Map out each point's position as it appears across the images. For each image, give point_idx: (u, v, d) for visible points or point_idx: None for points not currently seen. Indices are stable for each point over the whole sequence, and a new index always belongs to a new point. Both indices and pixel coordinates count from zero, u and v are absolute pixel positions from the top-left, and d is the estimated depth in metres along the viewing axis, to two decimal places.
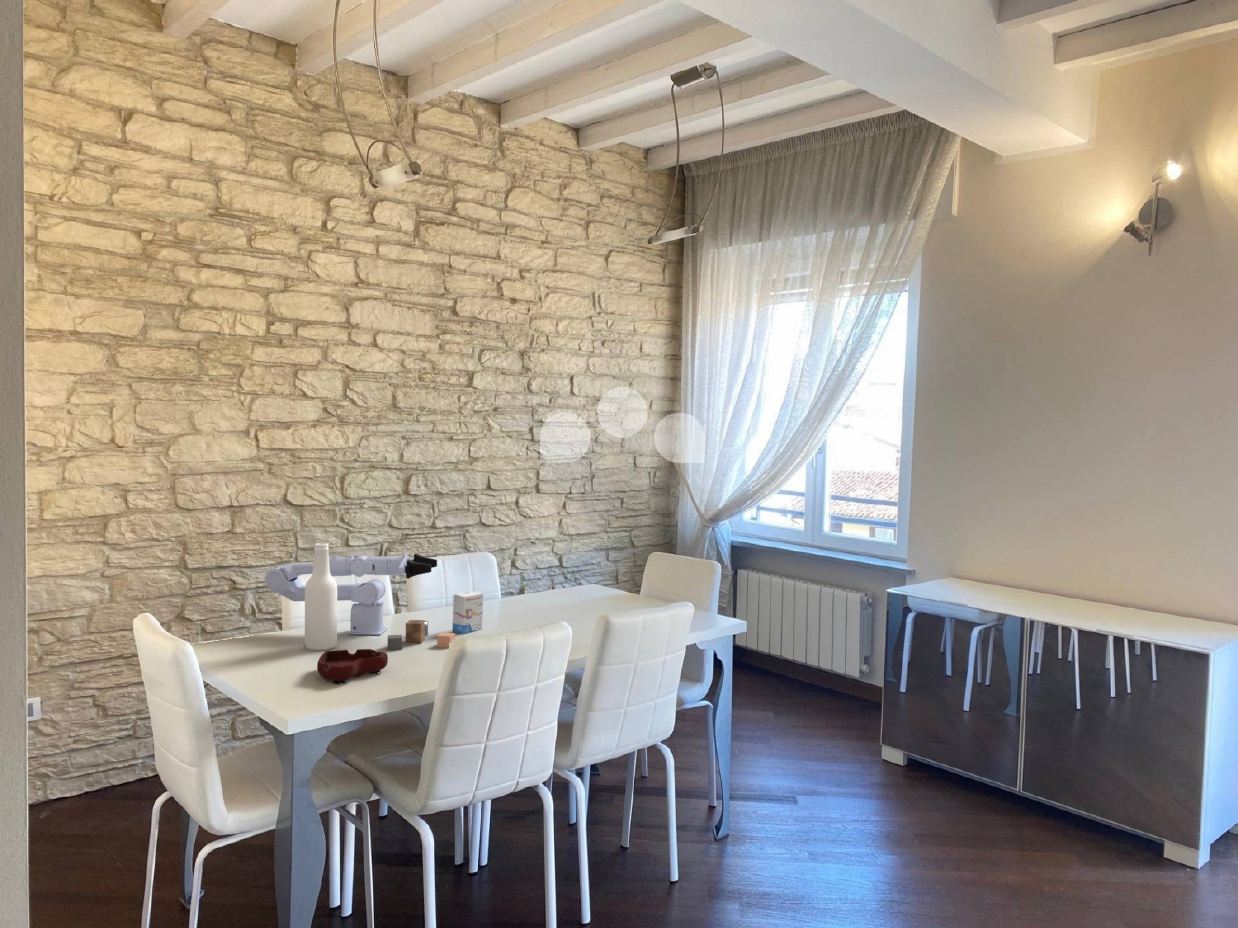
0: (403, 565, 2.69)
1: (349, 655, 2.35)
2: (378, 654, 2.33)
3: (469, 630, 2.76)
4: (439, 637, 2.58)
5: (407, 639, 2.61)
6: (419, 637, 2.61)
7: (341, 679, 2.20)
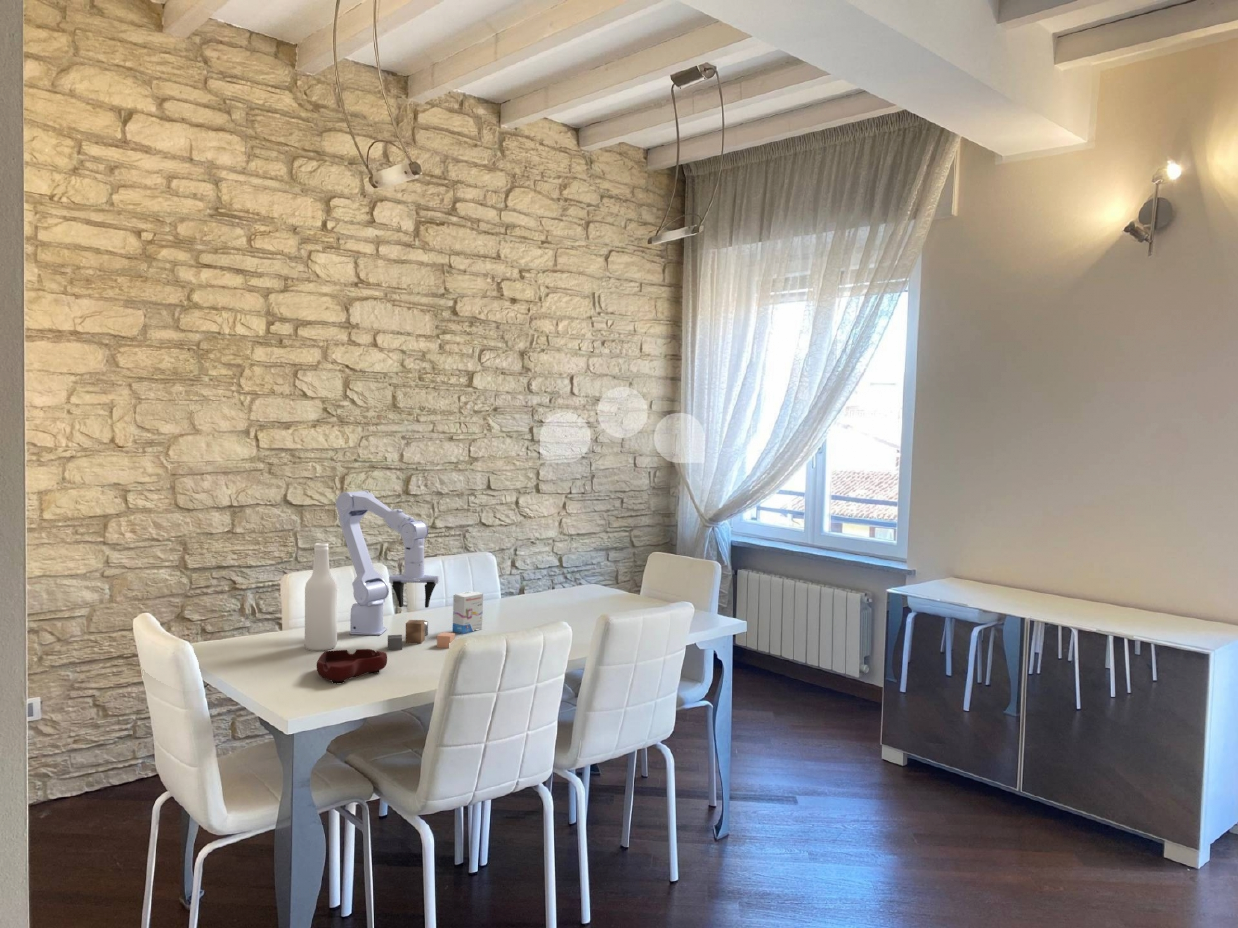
0: None
1: (348, 655, 2.36)
2: (377, 654, 2.34)
3: (469, 630, 2.76)
4: (439, 637, 2.58)
5: (407, 639, 2.61)
6: (419, 637, 2.61)
7: (340, 679, 2.20)
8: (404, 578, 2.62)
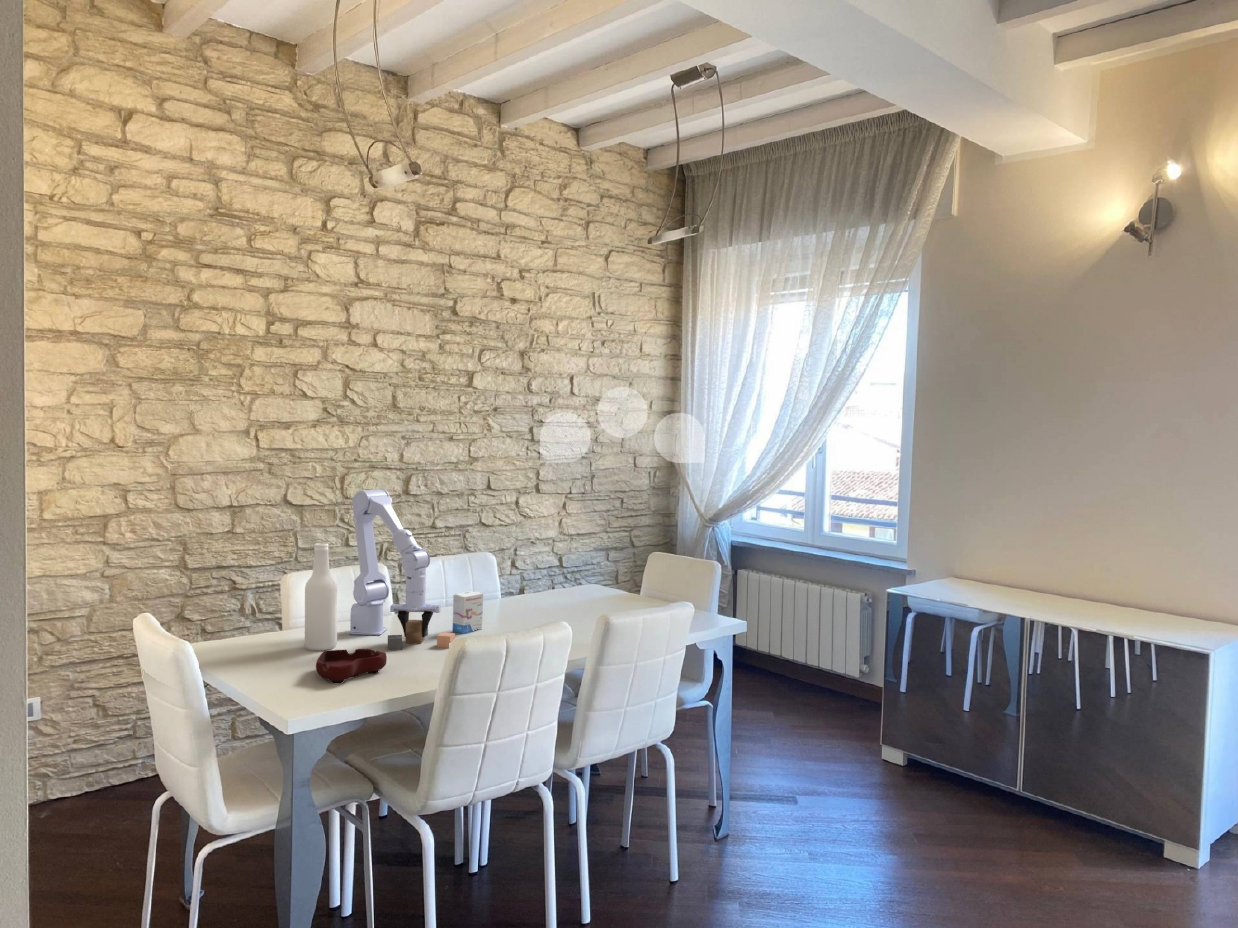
0: (401, 608, 2.62)
1: (348, 655, 2.36)
2: (377, 654, 2.34)
3: (469, 630, 2.76)
4: (439, 637, 2.58)
5: (407, 639, 2.61)
6: (419, 637, 2.61)
7: (340, 679, 2.20)
8: (405, 607, 2.61)
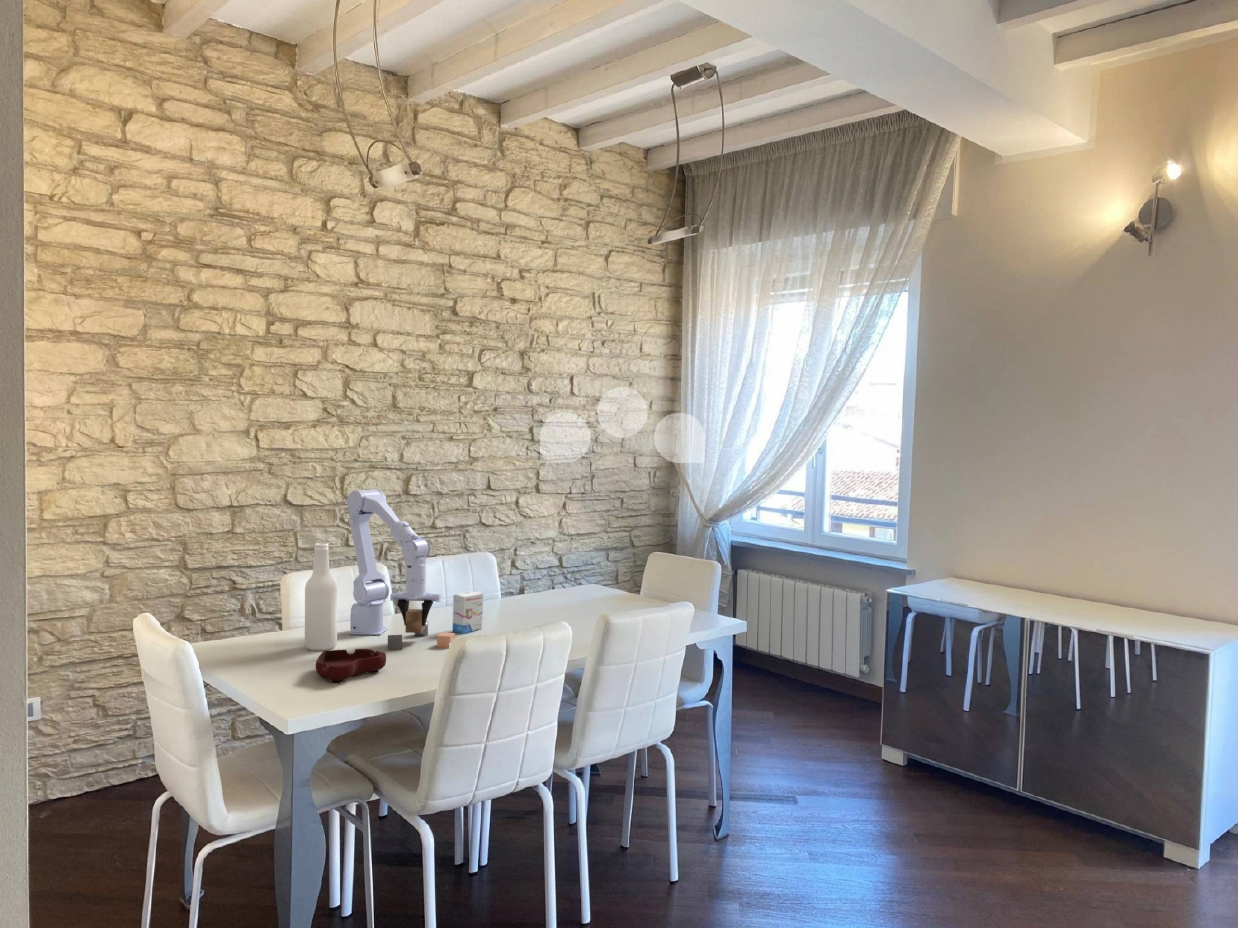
0: None
1: (348, 655, 2.36)
2: (376, 654, 2.34)
3: (469, 630, 2.76)
4: (439, 637, 2.58)
5: (407, 628, 2.61)
6: (419, 626, 2.61)
7: (339, 679, 2.20)
8: (405, 596, 2.61)
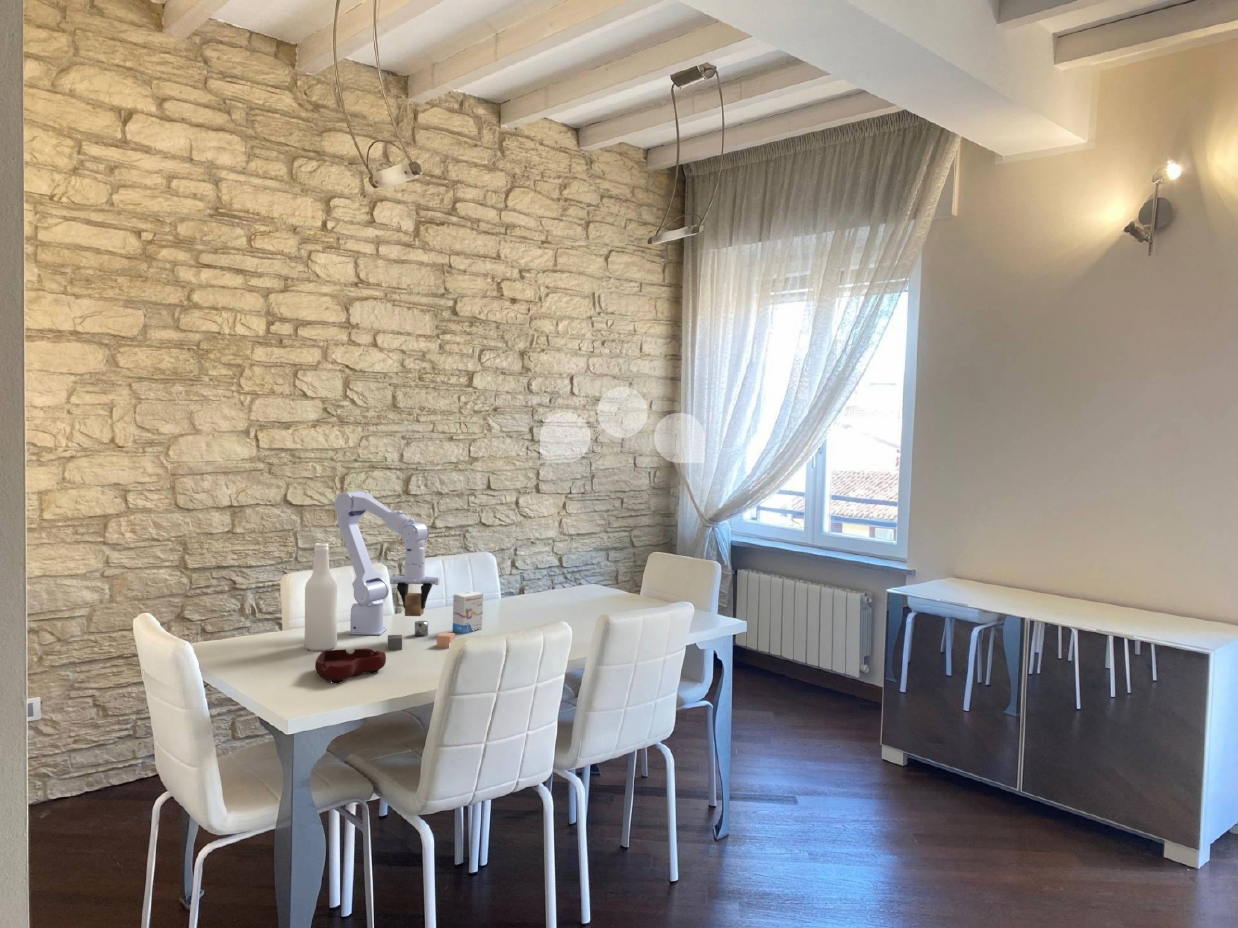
0: (400, 580, 2.65)
1: (347, 654, 2.36)
2: (376, 654, 2.34)
3: (469, 630, 2.76)
4: (439, 637, 2.58)
5: (406, 611, 2.64)
6: (418, 610, 2.64)
7: (339, 678, 2.21)
8: (404, 579, 2.64)
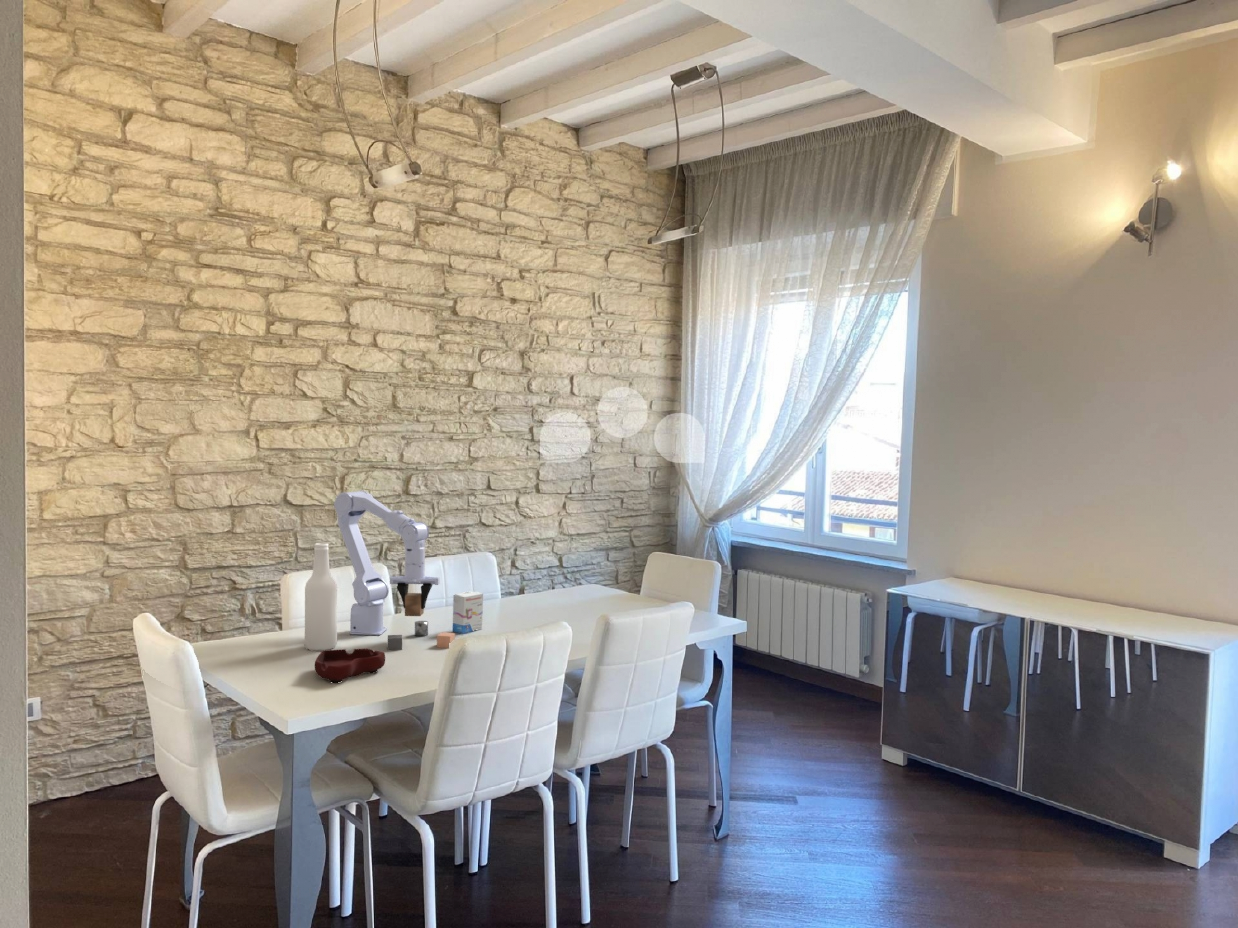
0: (400, 580, 2.65)
1: (347, 655, 2.36)
2: (375, 654, 2.34)
3: (469, 630, 2.76)
4: (439, 637, 2.58)
5: (406, 611, 2.64)
6: (418, 610, 2.64)
7: (338, 678, 2.21)
8: (404, 579, 2.64)
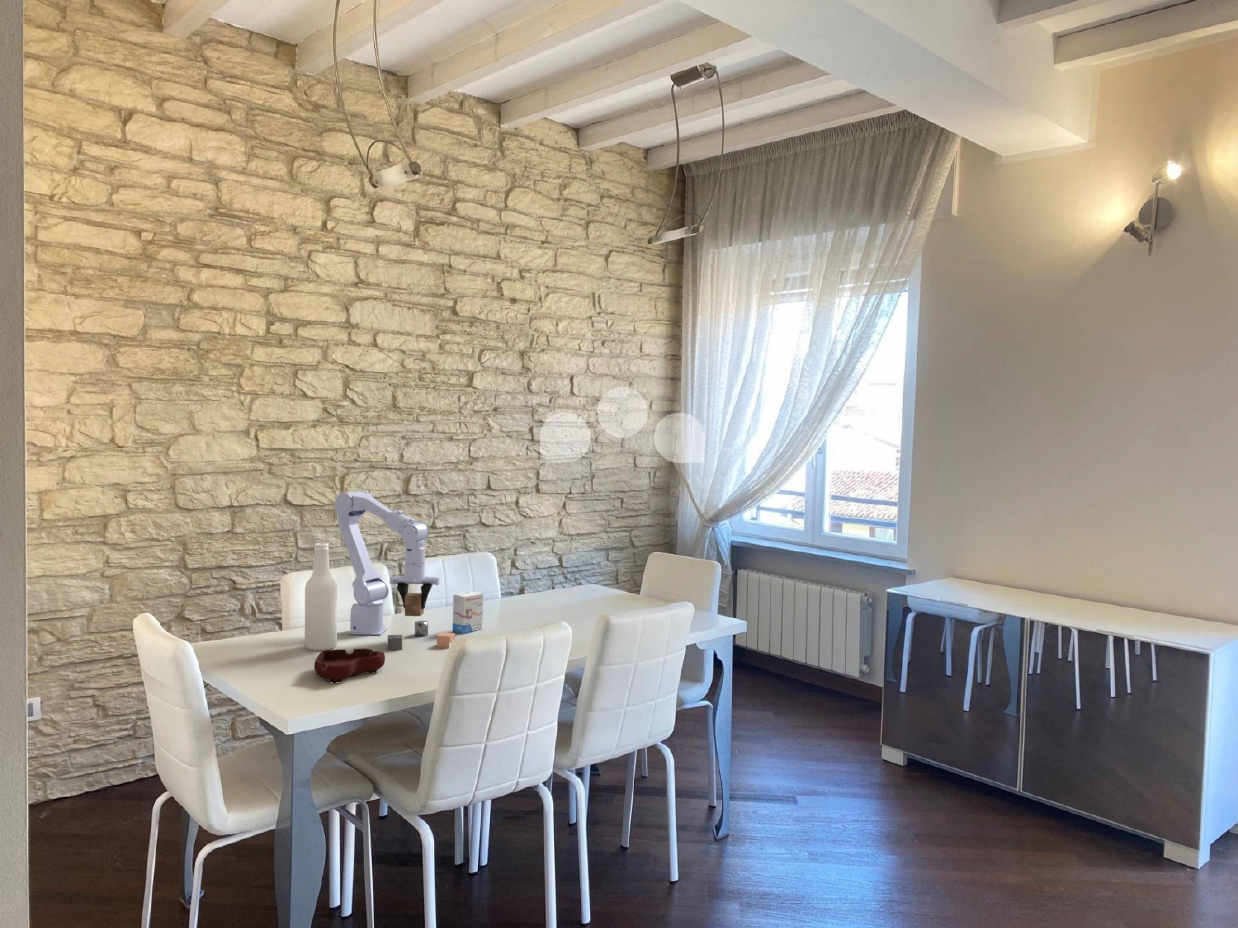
0: (400, 580, 2.65)
1: (346, 654, 2.36)
2: (375, 653, 2.34)
3: (469, 630, 2.76)
4: (439, 637, 2.58)
5: (406, 611, 2.64)
6: (418, 610, 2.64)
7: (338, 678, 2.21)
8: (404, 579, 2.64)
